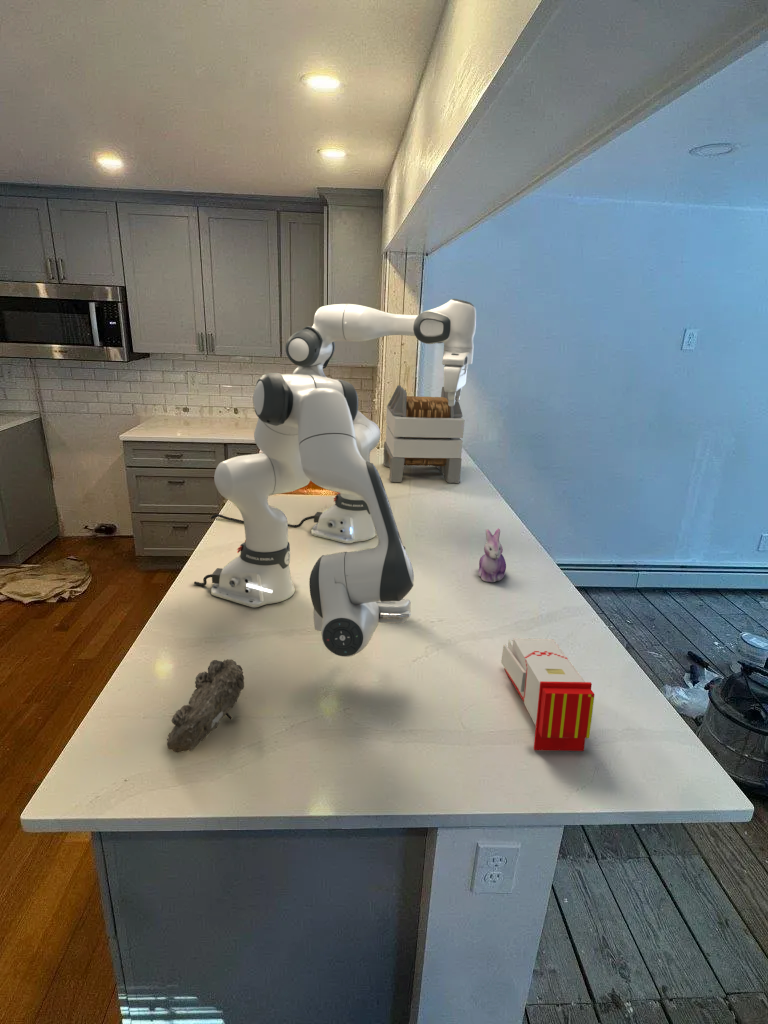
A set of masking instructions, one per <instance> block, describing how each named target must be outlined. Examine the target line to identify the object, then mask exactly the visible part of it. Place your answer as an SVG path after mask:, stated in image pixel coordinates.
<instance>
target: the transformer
mask: <svg viewBox="0 0 768 1024" xmlns="http://www.w3.org/2000/svg"><path fill="white" fill-rule="evenodd" d="M440 393H441V394H440V396H415V395H414V396H413V395H412V396H411V395H407V394H408V393H407V390H406V389H404V388H403V387H402V385H399V384H398V385H397V386H396V388H395V390H394V392H393V394H392V395H391V398H390V400H389V402H388V404H387V405H386V413H385V414H386V415H385V423H386V428H385V438H384V442H383V466H384V467H388V468H389V475H388V476H389V477H388V478H389V480H390V482H391V483H402V482H403V475H404V469H405V466H406V467H407V466H411V467H412V466H413V467H415V466H416V467H417V466H418V467H436V468H437V470H438V469H439V473H440V474H441V475H443V478H444V479H445V481H446V482H447V483H449V484H455V483H456V484H459V483H461V472H462V461H463V460H462V453H463V442H464V441H463V440H462V439H463V438H464V431H465V430H464V429H465V419H464V418H463V411H462V408H461V405H460V401H458V402H455V405H454V406H449V405H448V401H449V400H448V392H445V390H444V386H442V387H441V392H440Z"/></svg>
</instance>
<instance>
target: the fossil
mask: <svg viewBox="0 0 768 1024" xmlns="http://www.w3.org/2000/svg"><path fill="white" fill-rule="evenodd" d="M243 670H244V669H243V667H242V665H240V664H237V662H236V661H235V660H234V659H232V658H231V659H227V658H226V659H224V660H223V661H222V660H217V659H212V660H211V661H210V663H209V665H208V666H207V671H201V672H199V673H198V674H197V675H196V676H195V680H194V684H195V685H194V687H195V689H194V690H193V693H192V694H191V697H190V698H189V700H188V704H184V705H182V706H181V707H180V709H177V710H176V711H175V713H174V715H173V716H172V718H171V723H172V724H173V727H172V730H171V731H170V732H168V734H167V738H166V741H167V742H166V745H167V749H168V750H169V751H173V752H174V753H176V754H178V753H182V752H188V751H189V752H192V751H193V750H195V748H196V747H197V746H199V744H200V743H201V742H203V741H204V740H205V739H206V738H207V737H208V736H209V735H210V734H211V733H212V732H214V730H215V729H217V727H218V726H219V724H220V722H221V721H222V720H223V719H224V718H225V716H226V717H227V719H229V720H233V717H232V715H230V714H229V710H230V709H231V708H234V706H235V704H236V703H237V702H238V699H239V697H240V695H241V693H242V691H243V690H245V689H244V688H245V675H244V671H243Z"/></svg>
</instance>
